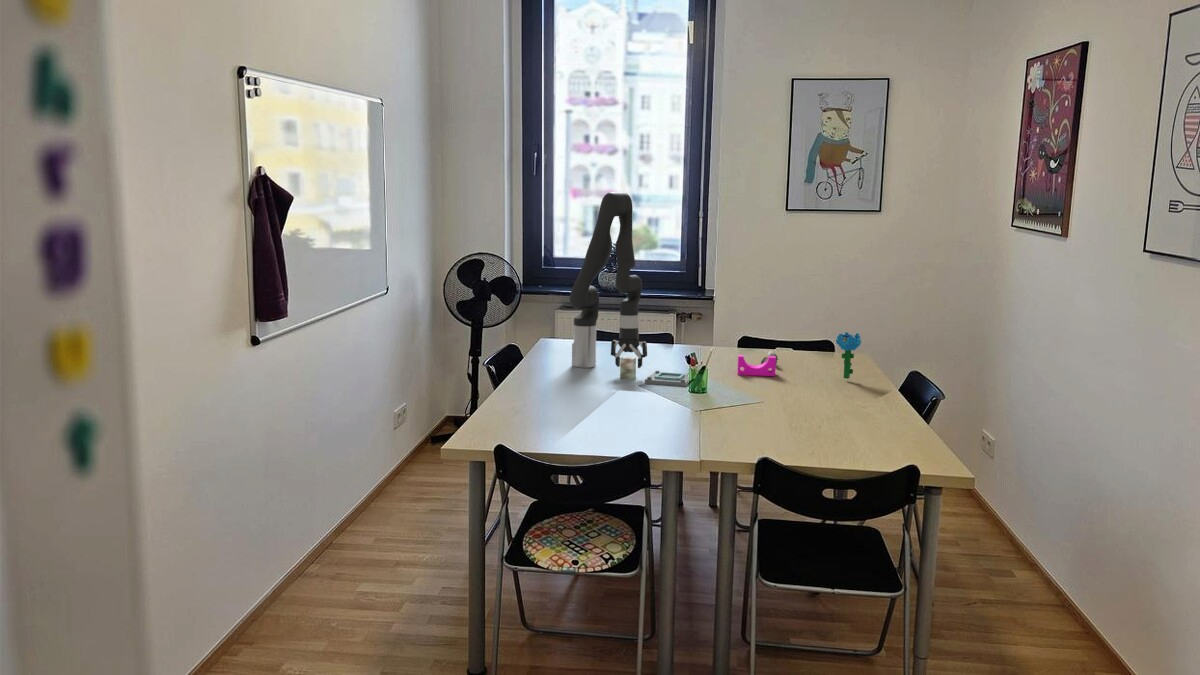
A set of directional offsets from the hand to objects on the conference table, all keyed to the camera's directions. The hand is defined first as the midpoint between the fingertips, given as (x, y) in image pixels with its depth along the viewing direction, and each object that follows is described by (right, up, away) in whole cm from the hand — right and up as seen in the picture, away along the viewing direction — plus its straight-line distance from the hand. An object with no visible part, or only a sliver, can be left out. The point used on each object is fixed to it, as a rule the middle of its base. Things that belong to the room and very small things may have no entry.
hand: (628, 367), depth 354 cm
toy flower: (+87, -5, +6) cm, 88 cm away
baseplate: (+16, -5, -4) cm, 17 cm away
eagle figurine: (+63, +2, +32) cm, 71 cm away
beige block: (0, -4, +1) cm, 4 cm away
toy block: (+52, -3, +13) cm, 54 cm away
